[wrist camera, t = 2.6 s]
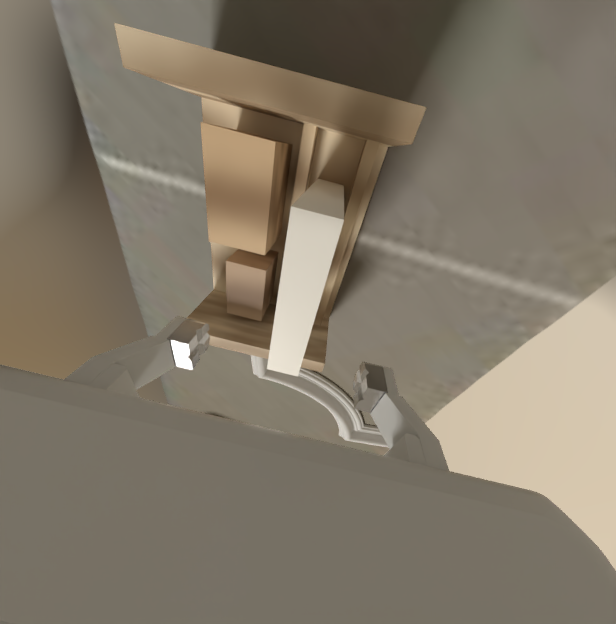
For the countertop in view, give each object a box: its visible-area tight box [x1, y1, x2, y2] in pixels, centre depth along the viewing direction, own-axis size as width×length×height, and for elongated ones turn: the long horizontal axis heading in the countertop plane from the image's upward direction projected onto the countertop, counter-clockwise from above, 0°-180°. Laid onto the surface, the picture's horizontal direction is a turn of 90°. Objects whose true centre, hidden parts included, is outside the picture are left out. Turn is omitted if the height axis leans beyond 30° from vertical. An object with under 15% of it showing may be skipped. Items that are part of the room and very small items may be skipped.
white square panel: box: [267, 179, 344, 377], centre depth 19 cm, size 12×2×13 cm, turn 168°
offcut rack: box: [114, 23, 427, 372], centre depth 21 cm, size 22×16×10 cm
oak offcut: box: [201, 122, 293, 255], centre depth 19 cm, size 8×5×6 cm, turn 168°
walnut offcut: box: [226, 249, 278, 321], centre depth 25 cm, size 6×4×5 cm, turn 168°
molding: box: [251, 355, 388, 447], centre depth 43 cm, size 42×12×3 cm, turn 42°
